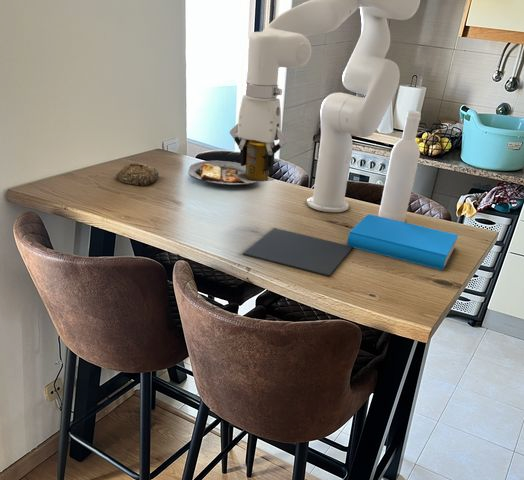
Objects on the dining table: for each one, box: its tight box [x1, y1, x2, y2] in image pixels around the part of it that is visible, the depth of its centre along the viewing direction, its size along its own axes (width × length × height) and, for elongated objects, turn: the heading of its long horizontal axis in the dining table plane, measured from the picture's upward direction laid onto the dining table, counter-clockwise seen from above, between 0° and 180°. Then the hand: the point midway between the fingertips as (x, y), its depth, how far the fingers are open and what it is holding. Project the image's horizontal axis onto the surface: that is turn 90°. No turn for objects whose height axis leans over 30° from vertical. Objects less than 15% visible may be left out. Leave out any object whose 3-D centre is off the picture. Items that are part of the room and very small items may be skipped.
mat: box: [242, 227, 354, 278], centre depth 140 cm, size 20×22×1 cm
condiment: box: [233, 140, 275, 183], centre depth 143 cm, size 7×8×12 cm
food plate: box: [187, 160, 256, 186], centre depth 185 cm, size 25×23×4 cm
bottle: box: [378, 110, 422, 223], centre depth 156 cm, size 8×8×30 cm
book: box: [346, 213, 459, 271], centre depth 147 cm, size 17×4×25 cm
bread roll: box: [115, 162, 159, 187], centre depth 176 cm, size 13×12×5 cm
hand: (256, 166), depth 144 cm, fingers closed on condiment, 6 cm apart
